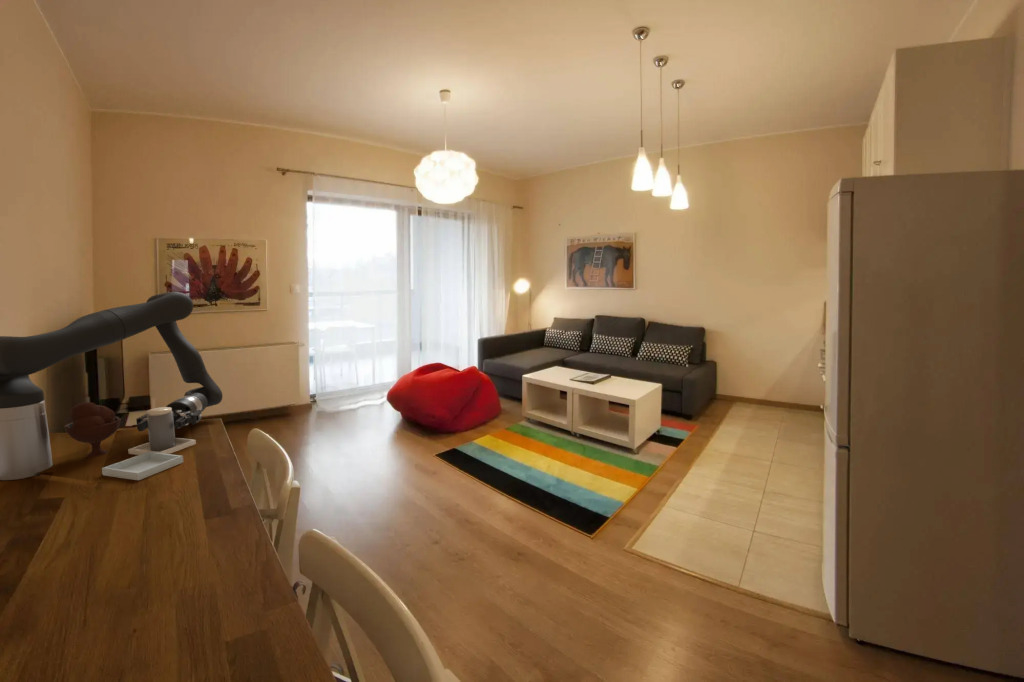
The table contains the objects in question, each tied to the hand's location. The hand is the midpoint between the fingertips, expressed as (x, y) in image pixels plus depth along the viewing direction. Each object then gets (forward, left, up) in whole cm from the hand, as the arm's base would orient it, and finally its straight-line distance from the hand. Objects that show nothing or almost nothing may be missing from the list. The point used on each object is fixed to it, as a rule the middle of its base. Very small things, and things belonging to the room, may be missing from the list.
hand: (158, 426), depth 122 cm
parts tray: (-1, +1, -8) cm, 8 cm away
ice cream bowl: (-14, -6, -8) cm, 17 cm away
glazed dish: (+8, -10, -8) cm, 15 cm away
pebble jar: (-1, +1, -7) cm, 7 cm away
